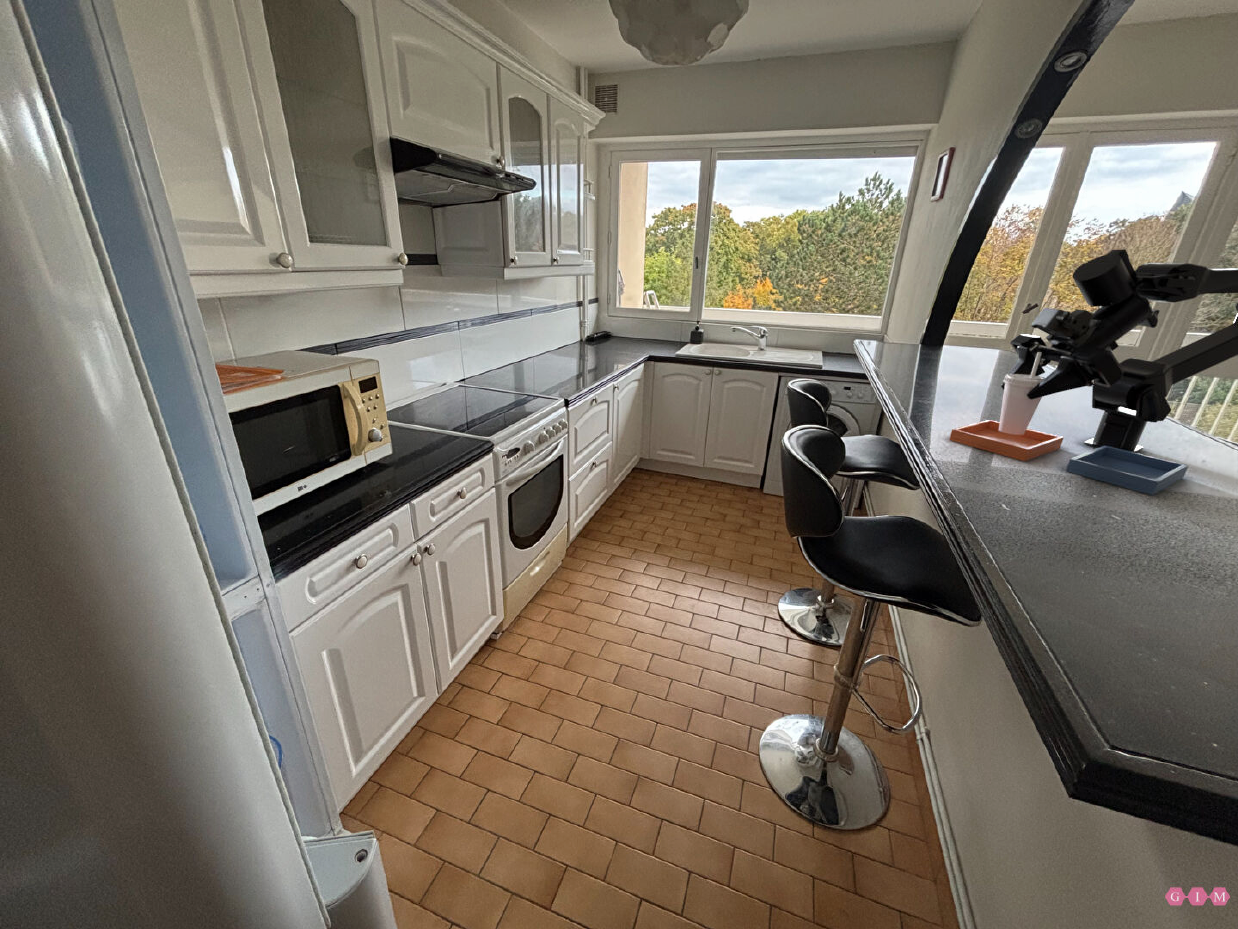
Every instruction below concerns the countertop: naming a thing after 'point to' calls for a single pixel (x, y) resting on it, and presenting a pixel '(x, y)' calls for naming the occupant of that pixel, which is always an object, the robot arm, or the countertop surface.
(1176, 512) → the countertop surface
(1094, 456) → the blue tray
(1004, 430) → the smoothie
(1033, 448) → the orange tray
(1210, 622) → the countertop surface
